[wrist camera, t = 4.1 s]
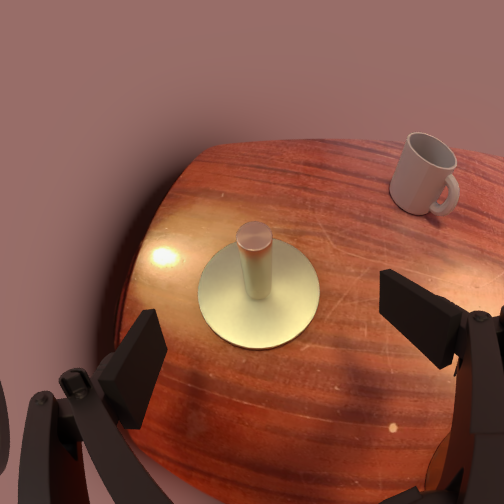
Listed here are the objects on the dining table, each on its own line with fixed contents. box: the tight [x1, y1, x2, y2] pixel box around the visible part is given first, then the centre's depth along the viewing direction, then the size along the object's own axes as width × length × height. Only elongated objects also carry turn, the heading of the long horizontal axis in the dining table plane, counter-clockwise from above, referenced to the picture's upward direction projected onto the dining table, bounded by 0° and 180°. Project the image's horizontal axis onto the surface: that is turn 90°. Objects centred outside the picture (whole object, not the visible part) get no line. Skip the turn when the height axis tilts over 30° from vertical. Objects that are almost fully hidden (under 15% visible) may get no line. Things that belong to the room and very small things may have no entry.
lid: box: [198, 221, 320, 350], centre depth 24 cm, size 12×12×10 cm
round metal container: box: [425, 432, 451, 491], centre depth 12 cm, size 11×11×8 cm
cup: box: [389, 132, 460, 216], centre depth 30 cm, size 7×10×9 cm
